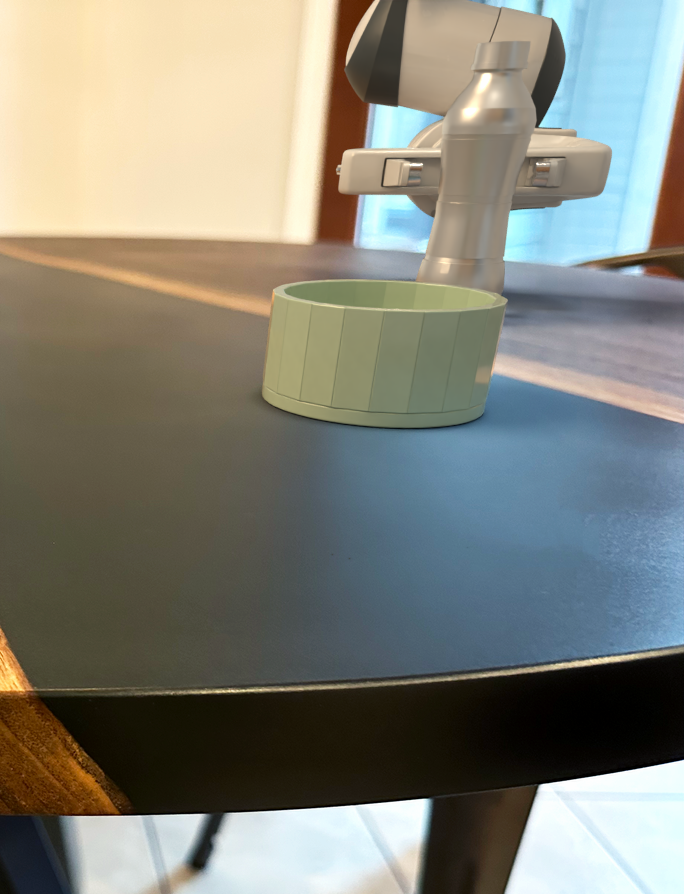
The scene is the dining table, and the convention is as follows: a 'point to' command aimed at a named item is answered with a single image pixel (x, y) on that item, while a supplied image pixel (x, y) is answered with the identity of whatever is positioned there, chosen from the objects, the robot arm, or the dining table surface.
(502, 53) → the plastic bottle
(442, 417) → the round open container
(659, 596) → the dining table surface
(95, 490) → the dining table surface
